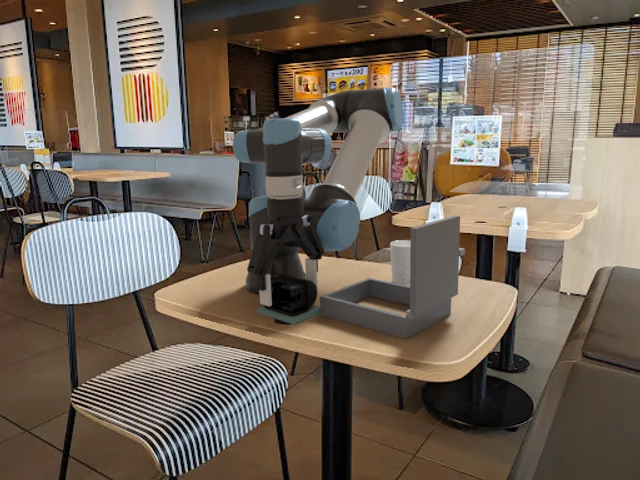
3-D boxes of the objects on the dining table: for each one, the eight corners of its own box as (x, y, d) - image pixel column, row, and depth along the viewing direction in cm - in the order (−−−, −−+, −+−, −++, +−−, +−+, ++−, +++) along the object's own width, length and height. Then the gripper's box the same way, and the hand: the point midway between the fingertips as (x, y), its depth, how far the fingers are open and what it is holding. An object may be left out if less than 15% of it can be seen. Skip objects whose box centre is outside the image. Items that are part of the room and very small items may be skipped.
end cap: (318, 308, 107) (317, 277, 106) (294, 317, 102) (293, 285, 101) (285, 299, 114) (284, 270, 112) (261, 307, 109) (260, 277, 107)
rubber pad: (257, 312, 108) (256, 308, 108) (287, 301, 115) (286, 297, 115) (293, 324, 101) (293, 319, 101) (323, 312, 108) (323, 307, 107)
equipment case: (320, 314, 106) (317, 217, 102) (374, 292, 120) (373, 205, 116) (413, 341, 91) (414, 229, 87) (462, 312, 105) (466, 214, 101)
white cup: (400, 276, 133) (400, 238, 131) (427, 281, 128) (428, 242, 126) (384, 283, 127) (384, 244, 125) (412, 288, 122) (412, 248, 120)
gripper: (249, 205, 92) (256, 316, 96) (338, 190, 109) (341, 284, 114) (224, 202, 96) (232, 308, 101) (313, 188, 114) (316, 278, 119)
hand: (289, 296), depth 108 cm, fingers open, 13 cm apart
